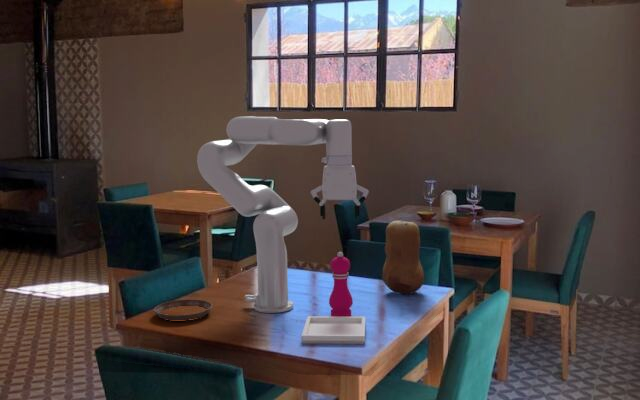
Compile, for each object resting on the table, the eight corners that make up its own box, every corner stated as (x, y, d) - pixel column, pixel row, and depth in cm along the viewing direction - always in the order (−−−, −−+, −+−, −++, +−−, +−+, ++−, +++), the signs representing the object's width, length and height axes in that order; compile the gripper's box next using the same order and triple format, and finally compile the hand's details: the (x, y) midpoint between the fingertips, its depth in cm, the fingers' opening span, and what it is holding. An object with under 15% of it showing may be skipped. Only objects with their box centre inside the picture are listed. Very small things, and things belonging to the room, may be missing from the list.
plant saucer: (168, 306, 218) (167, 297, 217) (220, 308, 215) (219, 299, 214) (144, 323, 201) (144, 313, 200) (200, 326, 198) (200, 316, 197)
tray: (301, 343, 180) (301, 335, 180) (307, 323, 197) (307, 316, 197) (364, 344, 179) (364, 336, 179) (365, 323, 196) (365, 316, 196)
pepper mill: (350, 320, 200) (350, 254, 197) (327, 319, 201) (326, 254, 198) (354, 312, 207) (353, 249, 204) (331, 311, 208) (330, 249, 205)
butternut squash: (420, 287, 234) (421, 217, 231) (426, 298, 221) (426, 223, 218) (381, 288, 235) (380, 217, 231) (384, 298, 221) (383, 224, 218)
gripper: (309, 162, 195) (310, 220, 197) (368, 162, 193) (369, 220, 196) (311, 160, 202) (312, 216, 204) (368, 160, 201) (369, 216, 203)
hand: (340, 218), depth 200 cm, fingers open, 9 cm apart
